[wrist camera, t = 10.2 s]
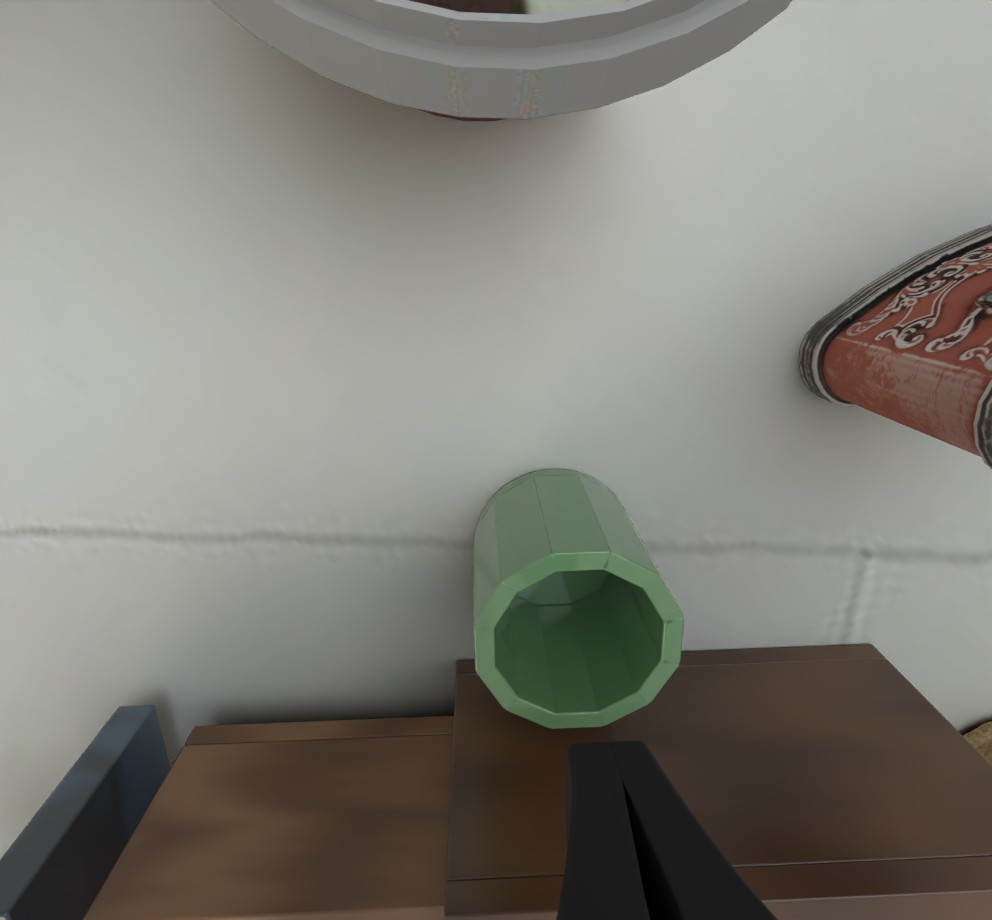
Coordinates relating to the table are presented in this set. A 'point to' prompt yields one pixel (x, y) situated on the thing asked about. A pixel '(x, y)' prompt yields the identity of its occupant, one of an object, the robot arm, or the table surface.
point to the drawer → (242, 825)
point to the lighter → (916, 345)
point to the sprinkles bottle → (982, 740)
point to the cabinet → (744, 789)
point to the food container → (502, 48)
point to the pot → (569, 604)
